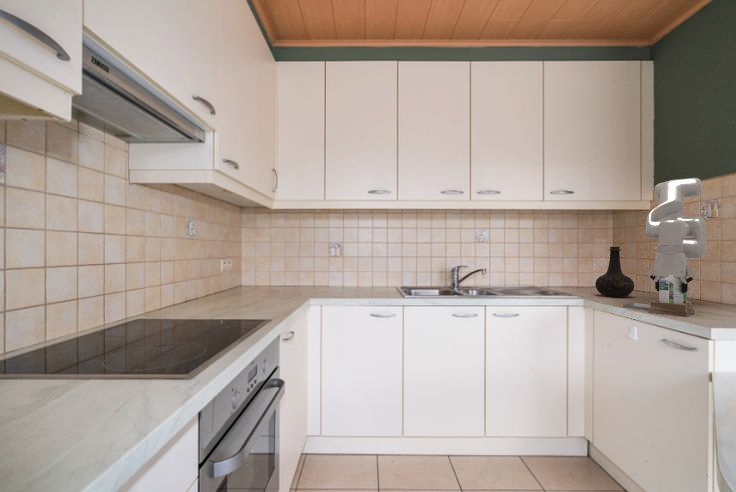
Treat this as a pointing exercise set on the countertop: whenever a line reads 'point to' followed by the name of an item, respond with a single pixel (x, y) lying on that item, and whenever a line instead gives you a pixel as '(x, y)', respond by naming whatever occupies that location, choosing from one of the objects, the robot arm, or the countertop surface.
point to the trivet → (637, 305)
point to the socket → (671, 308)
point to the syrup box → (670, 290)
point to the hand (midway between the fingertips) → (671, 291)
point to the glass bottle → (614, 278)
